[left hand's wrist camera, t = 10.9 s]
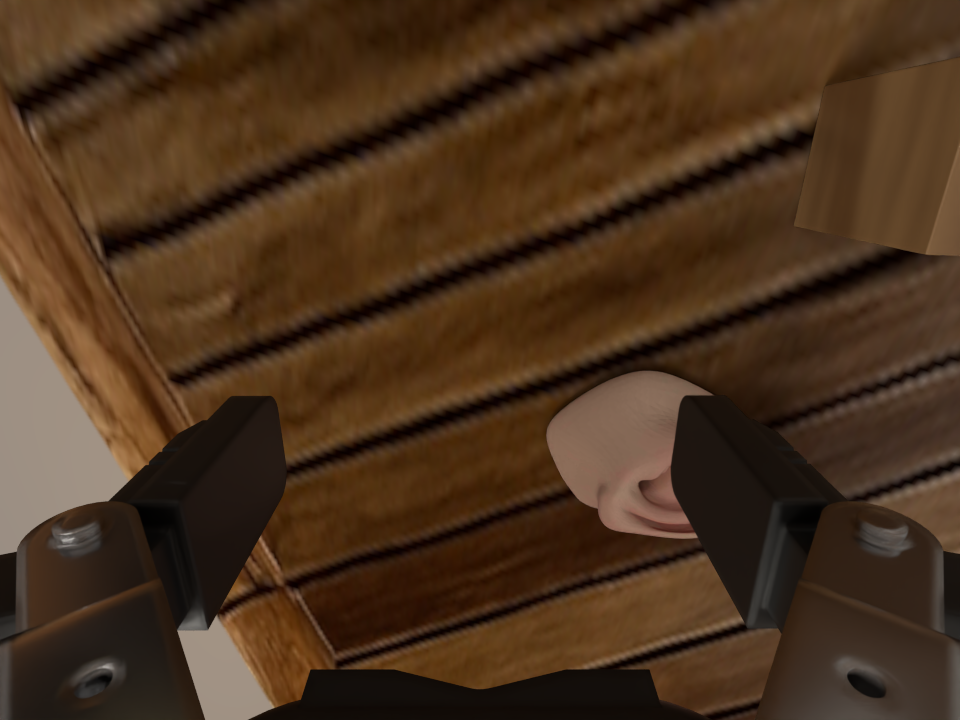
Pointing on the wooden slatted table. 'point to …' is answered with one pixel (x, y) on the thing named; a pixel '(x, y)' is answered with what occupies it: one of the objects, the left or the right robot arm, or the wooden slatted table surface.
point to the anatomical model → (625, 451)
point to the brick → (888, 160)
